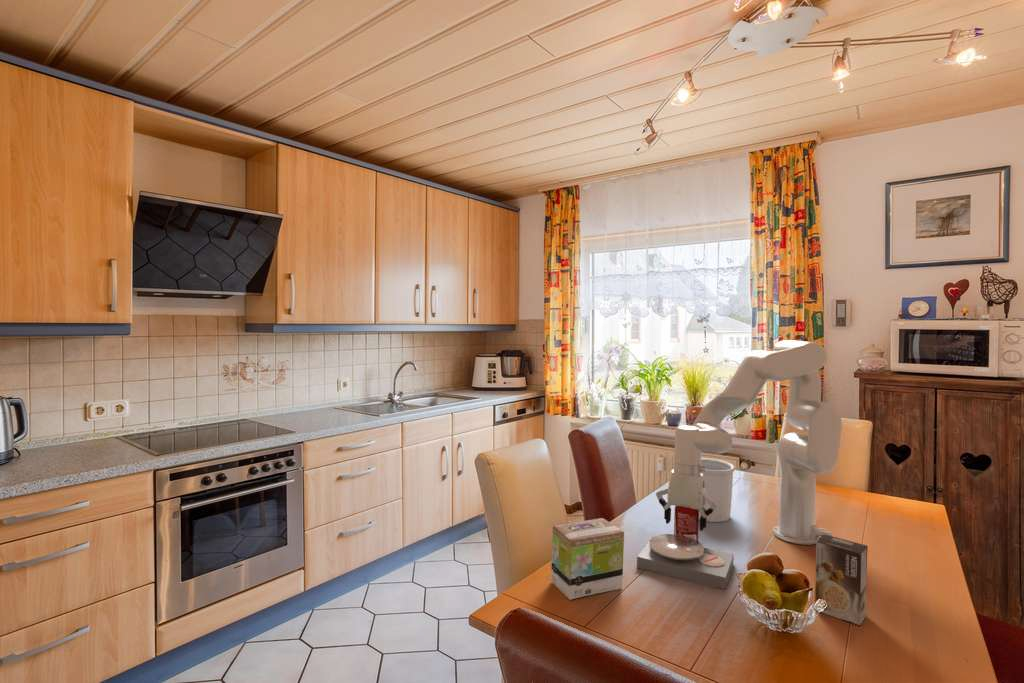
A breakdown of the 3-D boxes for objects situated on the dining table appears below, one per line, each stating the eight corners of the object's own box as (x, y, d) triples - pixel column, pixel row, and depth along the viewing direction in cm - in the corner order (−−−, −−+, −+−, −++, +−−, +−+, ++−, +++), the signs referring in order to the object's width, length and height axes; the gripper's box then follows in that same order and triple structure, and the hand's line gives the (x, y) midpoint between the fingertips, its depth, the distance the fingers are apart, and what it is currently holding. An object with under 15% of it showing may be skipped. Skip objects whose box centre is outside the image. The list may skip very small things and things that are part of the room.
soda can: (699, 549, 152) (700, 508, 151) (675, 546, 153) (676, 506, 152) (696, 539, 158) (697, 500, 158) (672, 537, 160) (673, 498, 159)
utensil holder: (741, 517, 176) (743, 465, 175) (714, 527, 168) (716, 472, 167) (703, 504, 188) (705, 455, 187) (676, 512, 180) (677, 461, 179)
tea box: (570, 602, 123) (571, 540, 122) (550, 582, 132) (551, 524, 132) (623, 589, 129) (624, 530, 128) (601, 571, 138) (602, 515, 138)
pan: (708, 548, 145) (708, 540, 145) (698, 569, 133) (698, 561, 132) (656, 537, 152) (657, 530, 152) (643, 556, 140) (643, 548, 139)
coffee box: (867, 615, 118) (870, 545, 117) (860, 627, 114) (863, 554, 113) (821, 599, 125) (823, 533, 124) (813, 610, 120) (815, 541, 120)
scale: (733, 564, 142) (733, 551, 142) (725, 589, 129) (725, 575, 129) (652, 546, 153) (652, 534, 153) (636, 567, 140) (637, 554, 140)
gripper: (720, 470, 153) (717, 528, 154) (660, 460, 162) (658, 515, 163) (716, 476, 147) (713, 536, 148) (654, 466, 155) (652, 523, 156)
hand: (684, 525), depth 155 cm, fingers open, 9 cm apart
